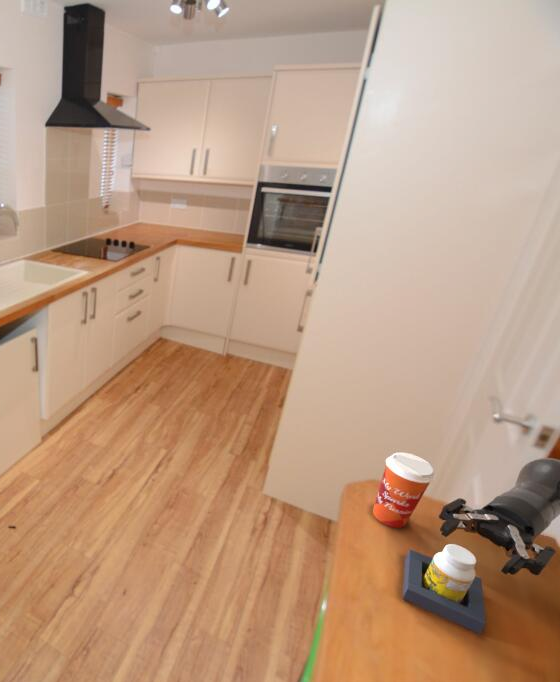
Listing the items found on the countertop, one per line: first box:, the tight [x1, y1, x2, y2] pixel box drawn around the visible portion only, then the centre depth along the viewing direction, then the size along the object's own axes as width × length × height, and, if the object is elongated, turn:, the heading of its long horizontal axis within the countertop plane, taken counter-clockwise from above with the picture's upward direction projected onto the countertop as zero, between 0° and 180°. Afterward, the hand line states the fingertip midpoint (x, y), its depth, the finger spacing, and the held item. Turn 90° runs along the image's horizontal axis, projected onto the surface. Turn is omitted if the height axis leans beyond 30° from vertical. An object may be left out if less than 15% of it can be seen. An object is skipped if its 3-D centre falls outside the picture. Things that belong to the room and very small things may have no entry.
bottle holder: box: [402, 549, 487, 635], centre depth 78 cm, size 10×10×2 cm
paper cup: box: [372, 451, 437, 529], centre depth 90 cm, size 8×8×14 cm
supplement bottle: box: [422, 543, 477, 604], centre depth 76 cm, size 5×5×10 cm
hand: (473, 549), depth 78 cm, fingers open, 8 cm apart
